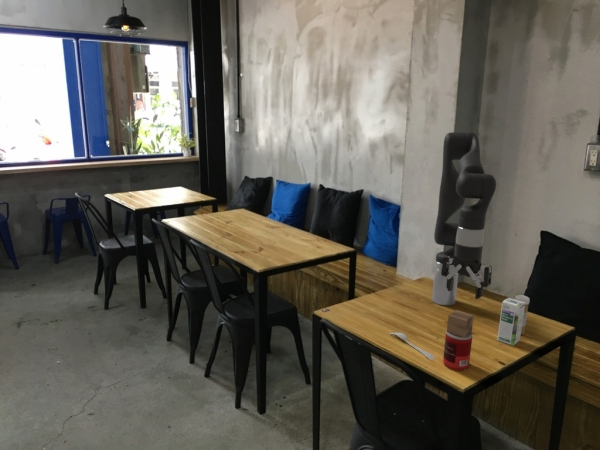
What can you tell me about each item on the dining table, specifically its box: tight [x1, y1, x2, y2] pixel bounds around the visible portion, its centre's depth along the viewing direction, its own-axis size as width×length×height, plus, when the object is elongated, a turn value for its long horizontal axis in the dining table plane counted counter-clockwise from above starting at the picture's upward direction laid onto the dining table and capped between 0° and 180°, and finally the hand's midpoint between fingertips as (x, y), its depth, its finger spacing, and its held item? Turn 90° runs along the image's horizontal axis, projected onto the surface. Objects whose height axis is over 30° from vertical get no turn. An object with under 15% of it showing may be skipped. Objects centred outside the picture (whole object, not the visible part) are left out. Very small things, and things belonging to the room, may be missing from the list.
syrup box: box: [497, 297, 525, 347], centre depth 161 cm, size 6×6×14 cm
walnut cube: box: [446, 309, 474, 338], centre depth 144 cm, size 6×6×6 cm
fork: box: [389, 332, 436, 361], centre depth 158 cm, size 3×21×3 cm, turn 31°
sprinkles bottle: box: [514, 294, 531, 335], centre depth 168 cm, size 5×5×14 cm
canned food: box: [442, 329, 473, 371], centre depth 146 cm, size 8×8×11 cm
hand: (463, 294), depth 141 cm, fingers open, 8 cm apart
